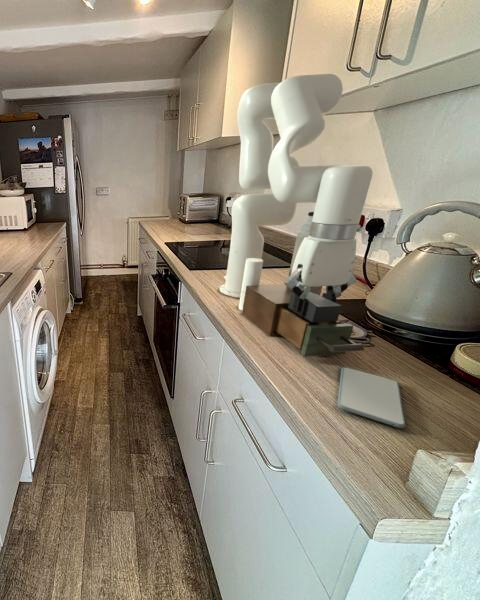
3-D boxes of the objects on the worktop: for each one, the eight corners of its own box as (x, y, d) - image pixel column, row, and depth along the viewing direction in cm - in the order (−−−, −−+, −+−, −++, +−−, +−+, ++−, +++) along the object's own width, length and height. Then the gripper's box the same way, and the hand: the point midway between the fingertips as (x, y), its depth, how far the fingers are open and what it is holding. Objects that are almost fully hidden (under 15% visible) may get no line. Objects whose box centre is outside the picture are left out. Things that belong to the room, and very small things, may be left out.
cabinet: (309, 333, 79) (317, 301, 75) (269, 335, 78) (276, 303, 75) (276, 312, 91) (282, 283, 88) (241, 313, 91) (246, 285, 88)
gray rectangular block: (312, 322, 67) (316, 306, 66) (287, 307, 75) (291, 292, 73) (337, 321, 67) (342, 304, 66) (310, 306, 75) (314, 291, 73)
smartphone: (398, 380, 59) (406, 426, 48) (397, 385, 59) (404, 431, 48) (341, 365, 64) (337, 404, 53) (340, 370, 64) (336, 409, 54)
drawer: (365, 367, 63) (375, 337, 61) (321, 369, 63) (329, 339, 61) (304, 328, 79) (310, 303, 77) (269, 330, 79) (274, 305, 77)
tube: (240, 311, 93) (248, 261, 87) (237, 305, 97) (244, 257, 91) (256, 312, 92) (265, 261, 86) (252, 306, 96) (260, 258, 90)
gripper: (358, 226, 68) (336, 304, 74) (279, 230, 68) (264, 308, 74) (391, 232, 61) (363, 317, 68) (303, 236, 61) (284, 322, 67)
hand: (311, 312), depth 71 cm, fingers closed on gray rectangular block, 5 cm apart
